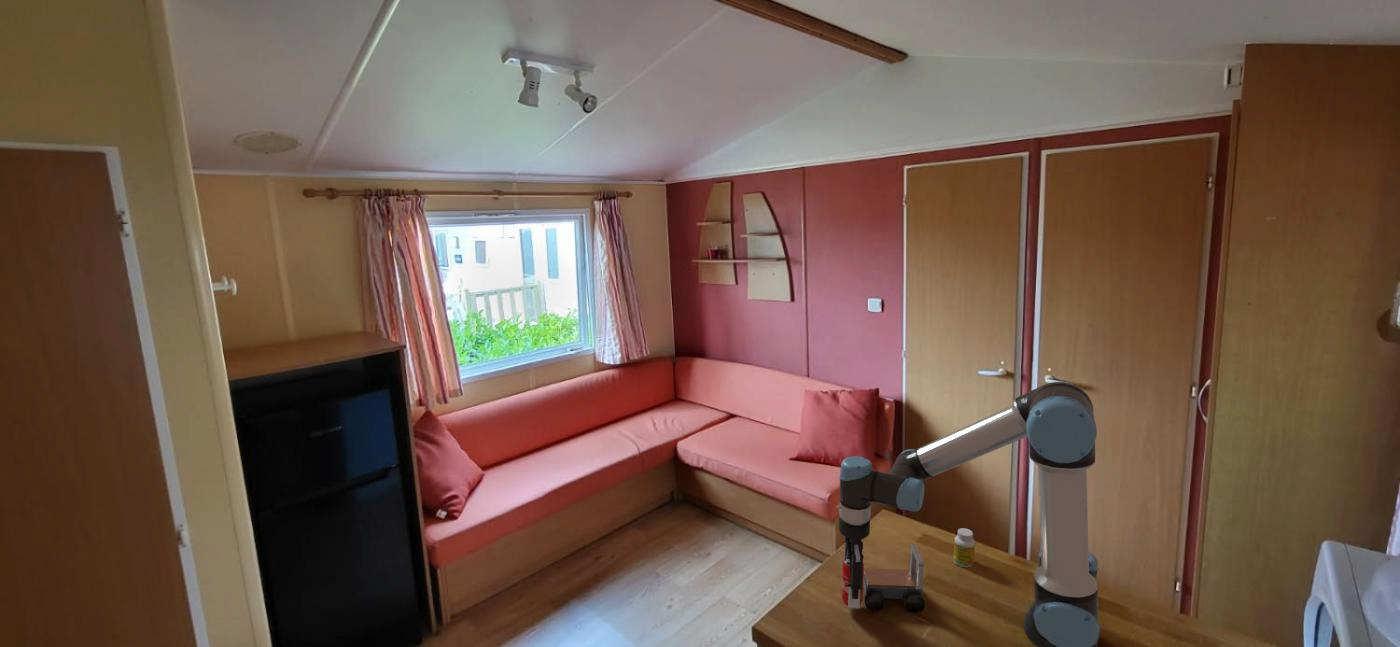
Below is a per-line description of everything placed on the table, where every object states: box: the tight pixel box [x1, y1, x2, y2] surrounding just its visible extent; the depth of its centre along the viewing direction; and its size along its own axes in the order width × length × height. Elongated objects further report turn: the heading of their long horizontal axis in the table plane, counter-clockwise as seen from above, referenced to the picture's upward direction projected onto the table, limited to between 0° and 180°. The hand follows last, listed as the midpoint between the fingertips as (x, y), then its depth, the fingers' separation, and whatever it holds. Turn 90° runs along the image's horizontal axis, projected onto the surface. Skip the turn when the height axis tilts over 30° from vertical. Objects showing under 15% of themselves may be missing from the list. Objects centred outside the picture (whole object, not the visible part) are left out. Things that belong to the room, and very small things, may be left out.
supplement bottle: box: [952, 527, 976, 568], centre depth 173 cm, size 5×5×10 cm
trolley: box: [863, 543, 926, 614], centre depth 159 cm, size 15×11×14 cm
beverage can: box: [841, 556, 865, 607], centre depth 155 cm, size 5×5×12 cm
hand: (852, 599), depth 157 cm, fingers closed on beverage can, 5 cm apart
